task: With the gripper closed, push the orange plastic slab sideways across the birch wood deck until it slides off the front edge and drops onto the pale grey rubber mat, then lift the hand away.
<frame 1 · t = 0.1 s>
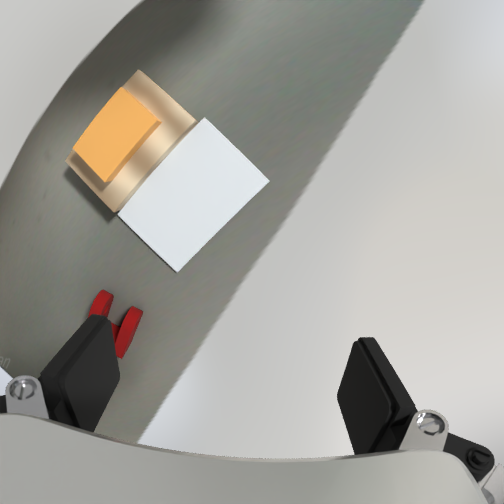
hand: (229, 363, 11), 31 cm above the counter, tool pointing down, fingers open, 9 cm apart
slab: (118, 135, 34), point 3 cm above the counter, touching deck
mechanical linkage: (113, 331, 46), on the counter
deck: (131, 140, 37), on the counter
mat: (189, 196, 40), on the counter
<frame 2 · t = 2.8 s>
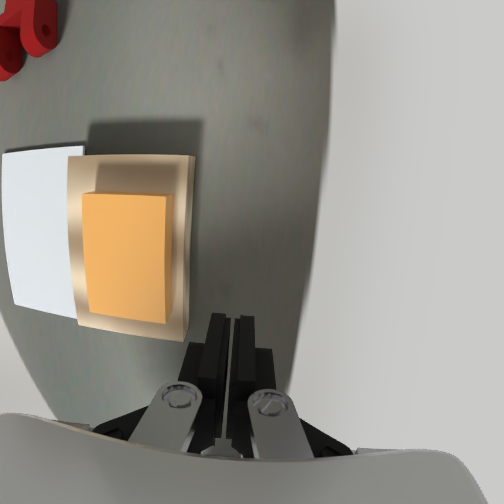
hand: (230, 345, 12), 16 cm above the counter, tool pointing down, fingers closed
slab: (131, 252, 24), point 3 cm above the counter, touching deck
mechanical linkage: (35, 19, 20), on the counter
deck: (133, 242, 27), on the counter
mat: (40, 234, 26), on the counter
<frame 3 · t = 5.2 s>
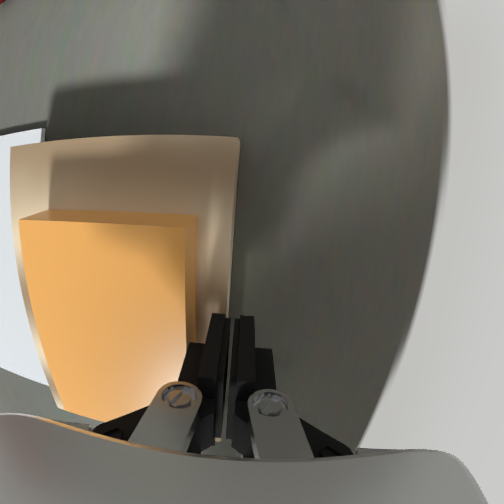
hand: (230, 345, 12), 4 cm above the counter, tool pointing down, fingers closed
slab: (121, 320, 13), point 3 cm above the counter, touching gripper
deck: (129, 292, 16), on the counter
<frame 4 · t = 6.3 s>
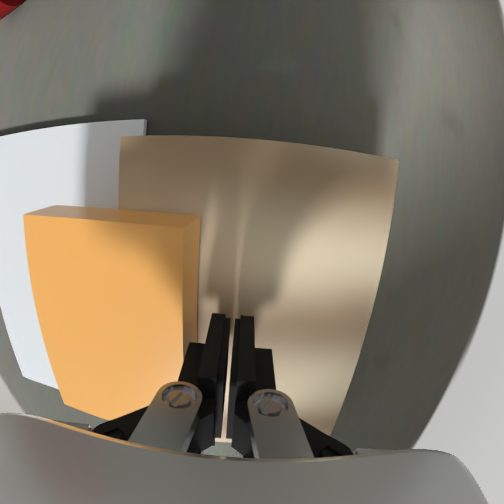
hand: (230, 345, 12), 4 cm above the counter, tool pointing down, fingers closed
slab: (123, 319, 13), point 3 cm above the counter, touching gripper
deck: (246, 303, 16), on the counter
mat: (56, 282, 15), on the counter
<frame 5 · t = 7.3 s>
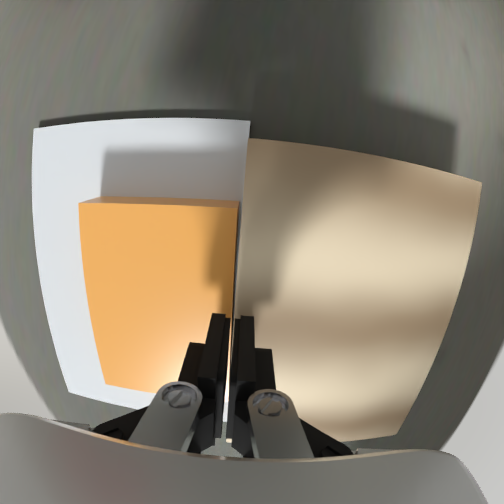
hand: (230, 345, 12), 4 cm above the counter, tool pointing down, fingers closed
slab: (166, 295, 15), resting on mat
deck: (337, 308, 16), on the counter
mat: (126, 291, 16), on the counter
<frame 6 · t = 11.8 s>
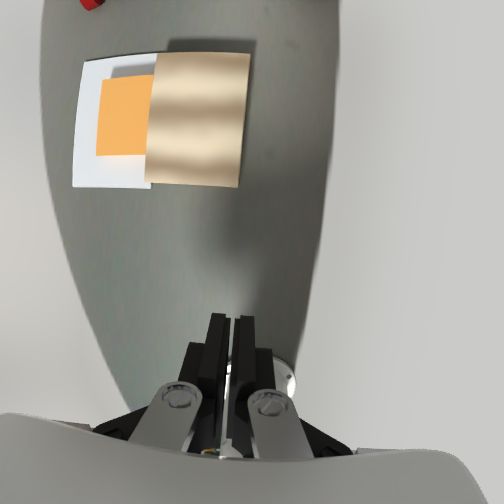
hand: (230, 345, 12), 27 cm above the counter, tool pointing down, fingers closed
slab: (129, 116, 33), resting on mat
deck: (199, 118, 34), on the counter
mat: (114, 119, 34), on the counter
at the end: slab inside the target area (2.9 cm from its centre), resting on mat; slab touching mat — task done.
